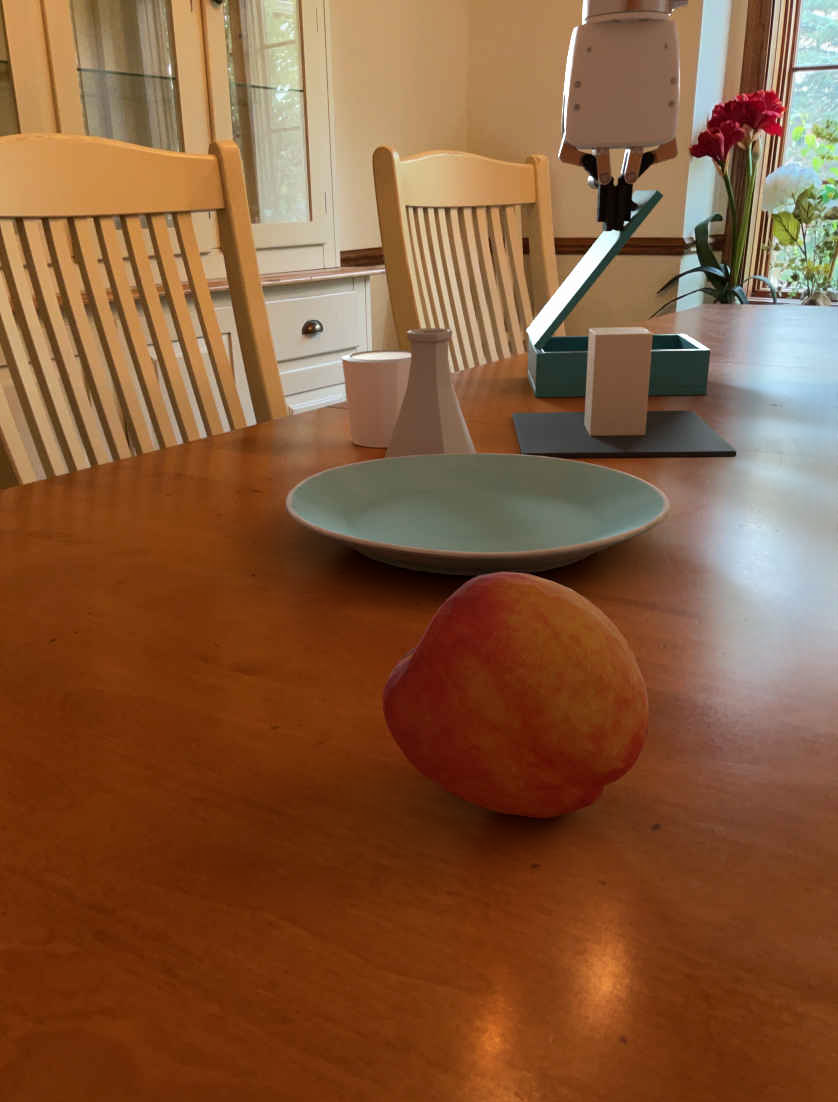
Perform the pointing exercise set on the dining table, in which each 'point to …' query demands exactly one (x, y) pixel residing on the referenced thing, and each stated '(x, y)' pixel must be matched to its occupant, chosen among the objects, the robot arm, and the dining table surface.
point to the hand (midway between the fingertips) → (612, 230)
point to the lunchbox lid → (589, 268)
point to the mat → (618, 437)
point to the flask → (429, 402)
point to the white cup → (375, 393)
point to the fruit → (519, 698)
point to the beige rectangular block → (617, 381)
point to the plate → (476, 510)
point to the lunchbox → (671, 369)
